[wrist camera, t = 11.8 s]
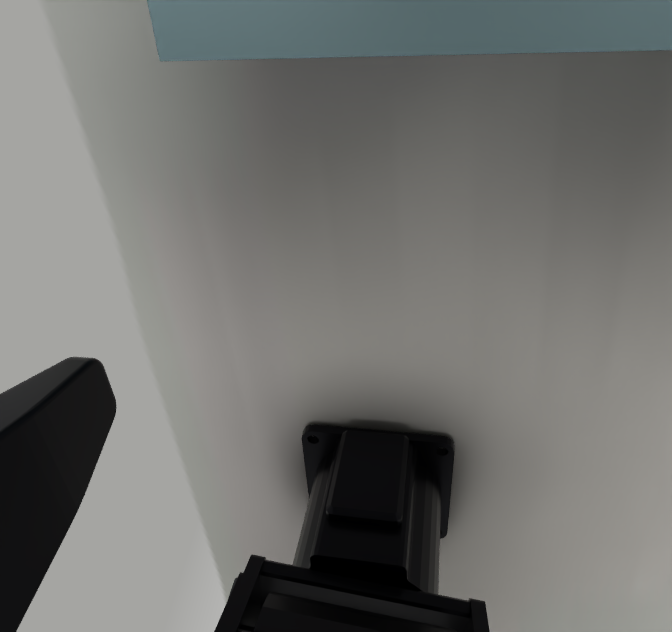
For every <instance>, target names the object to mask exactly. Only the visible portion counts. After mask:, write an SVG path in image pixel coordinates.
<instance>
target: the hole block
mask: <svg viewBox="0 0 672 632" xmlns="http://www.w3.org/2000/svg"><path fill="white" fill-rule="evenodd" d="M147 2H148V7H149V12H150V17H151V21H152V26H153V31H154V36H155V40H156V45H157V50H158V55H159V59H160V61H193V60H239V59H285V58H331V57H377V56H423V55H469V54H516V53H562V52H608V51H654V50H672V0H147Z"/></svg>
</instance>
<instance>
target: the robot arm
mask: <svg viewBox="0 0 672 632" xmlns="http://www.w3.org/2000/svg"><path fill="white" fill-rule="evenodd" d="M115 413H116V400H115V396H114V394H113V391H112V388H111V385H110V383H109V380H108V377H107V374H106V372H105V369H104V366H103V364H102V363H101V362H100V361H99V360H97V359H95V358H83V357H70V358H67V359H65V360H63V361H61V362H60V363H58V364H56V365H54V366H52V367H50V368H49V369H46V370H44V371H43V372H41V373H39V374H37V375H35V376H33V377H31V378H29V379H28V380H26V381H24V382H22V383H20V384H18V385H16V386H14V387H13V388H11V389H9V390H7V391H5V392H3V393H1V394H0V632H16V630H17V629H18V627H19V625H20V623H21V621H22V619H23V617H24V615H25V613H26V611H27V609H28V607H29V605H30V603H31V601H32V599H33V598H34V596H35V594H36V592H37V589H38V588H39V586H40V584H41V582H42V580H43V578H44V576H45V574H46V572H47V570H48V568H49V566H50V564H51V562H52V560H53V559H54V557H55V555H56V553H57V551H58V549H59V547H60V545H61V543H62V541H63V539H64V537H65V535H66V533H67V531H68V529H69V527H70V525H71V523H72V521H73V519H74V517H75V515H76V513H77V511H78V509H79V506H80V504H81V502H82V499H83V497H84V495H85V492H86V490H87V487H88V484H89V482H90V479H91V477H92V474H93V472H94V469H95V466H96V463H97V461H98V459H99V456H100V454H101V451H102V448H103V446H104V443H105V441H106V438H107V435H108V433H109V430H110V428H111V425H112V423H113V420H114V417H115ZM312 435H313V436H316V437H313V436H312ZM302 444H303V452H304V461H305V469H306V477H307V485H308V493H309V502H308V506H307V510H306V514H305V518H304V522H303V526H302V530H301V534H300V538H299V542H298V546H297V550H296V554H295V558H294V562H293V565H289V564H284V563H279V562H274V561H269V560H266V557H262V556H257V555H251V557H250V559H249V561H248V564H247V566H246V568H245V571H244V573H240V574H239V576H238V578H235V580H234V583H233V586H232V589H231V592H230V595H229V598H228V601H227V604H226V606H225V608H224V611H223V613H222V615H221V618H220V620H219V622H218V625H217V627H216V629H215V631H214V632H489V625H488V619H487V612H486V605H485V602H484V601H480V600H475V599H469V601H467V600H462V599H457V598H452V597H447V596H442V595H438V582H439V551H440V538H444V537H445V536H446V535H447V529H448V518H449V507H450V495H451V484H452V473H453V462H454V442H453V441H452V439H450V438H448V437H445V436H437V435H426V434H414V433H403V432H391V431H380V430H369V429H357V428H346V427H334V426H323V425H309V426H306V427H305V429H304V431H303V435H302ZM439 447H444V448H443V449H442V448H439Z"/></svg>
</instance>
